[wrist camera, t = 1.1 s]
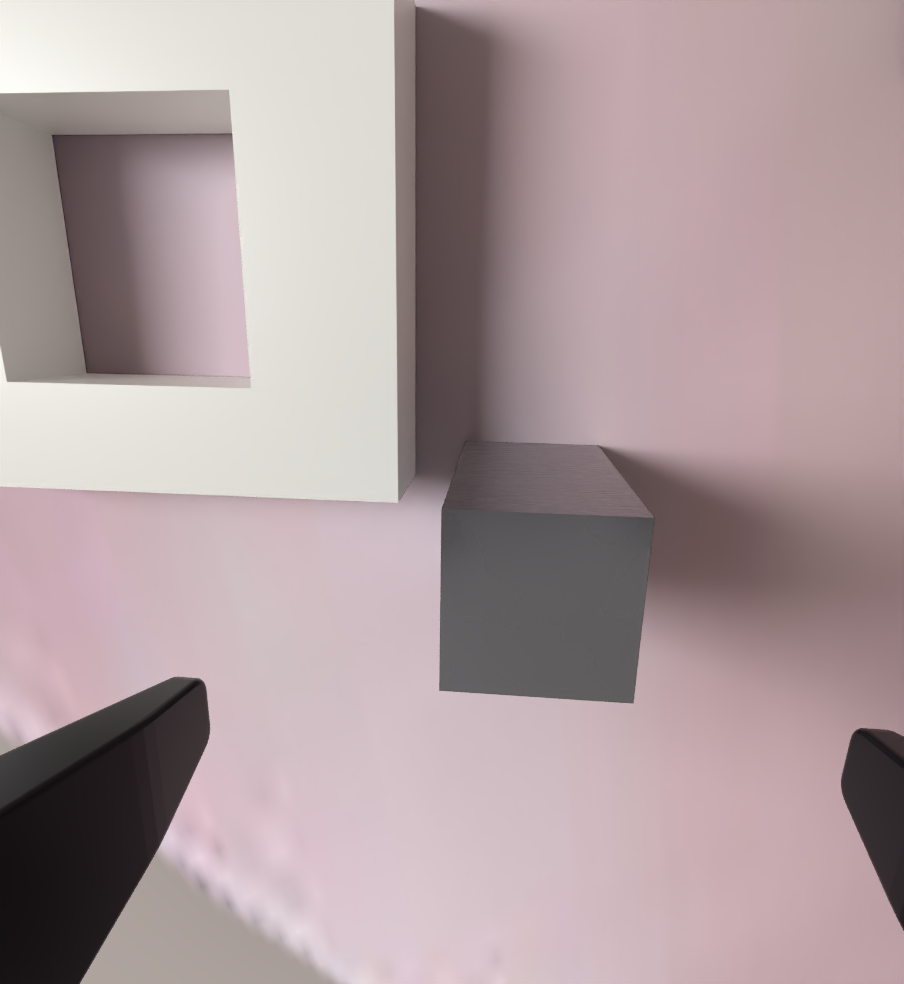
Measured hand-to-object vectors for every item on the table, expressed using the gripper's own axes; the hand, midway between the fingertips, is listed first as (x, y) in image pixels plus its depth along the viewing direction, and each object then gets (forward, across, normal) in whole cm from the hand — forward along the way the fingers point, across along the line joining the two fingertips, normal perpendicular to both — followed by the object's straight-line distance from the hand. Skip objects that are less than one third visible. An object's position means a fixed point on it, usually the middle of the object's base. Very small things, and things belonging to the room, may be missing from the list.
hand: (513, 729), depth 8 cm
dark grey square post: (+13, -1, +1) cm, 13 cm away
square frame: (+13, +11, -7) cm, 19 cm away
